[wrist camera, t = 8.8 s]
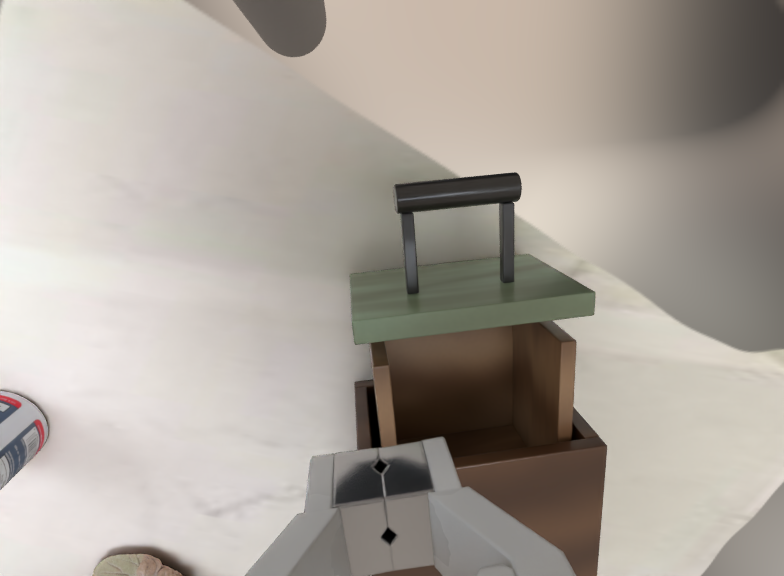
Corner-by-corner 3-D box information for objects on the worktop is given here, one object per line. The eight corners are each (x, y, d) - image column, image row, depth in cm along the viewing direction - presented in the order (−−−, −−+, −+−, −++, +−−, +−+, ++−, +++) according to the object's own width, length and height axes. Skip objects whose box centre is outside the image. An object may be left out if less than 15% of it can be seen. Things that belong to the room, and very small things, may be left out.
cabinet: (354, 381, 30) (358, 482, 21) (530, 358, 31) (608, 445, 22) (373, 533, 34) (384, 671, 25) (528, 509, 35) (592, 634, 26)
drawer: (338, 182, 25) (335, 196, 18) (530, 163, 26) (603, 169, 19) (370, 443, 31) (378, 536, 23) (527, 421, 32) (583, 504, 24)
